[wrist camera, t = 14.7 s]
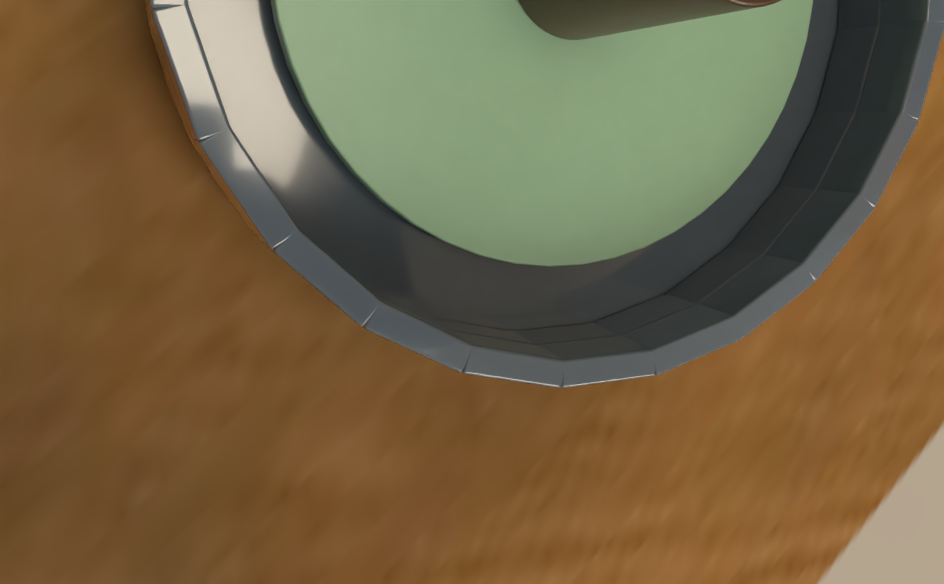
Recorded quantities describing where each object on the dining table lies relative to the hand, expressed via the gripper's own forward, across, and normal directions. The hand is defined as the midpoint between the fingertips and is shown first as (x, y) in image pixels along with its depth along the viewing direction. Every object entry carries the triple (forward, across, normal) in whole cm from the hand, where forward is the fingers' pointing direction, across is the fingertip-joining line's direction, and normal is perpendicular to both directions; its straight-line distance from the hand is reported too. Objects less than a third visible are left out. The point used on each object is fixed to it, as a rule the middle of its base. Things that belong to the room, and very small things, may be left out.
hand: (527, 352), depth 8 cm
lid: (+13, -3, +1) cm, 13 cm away
